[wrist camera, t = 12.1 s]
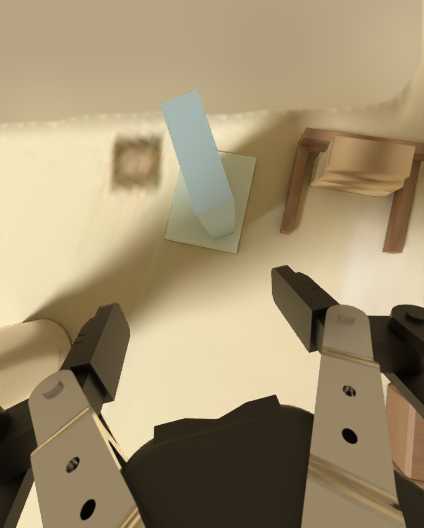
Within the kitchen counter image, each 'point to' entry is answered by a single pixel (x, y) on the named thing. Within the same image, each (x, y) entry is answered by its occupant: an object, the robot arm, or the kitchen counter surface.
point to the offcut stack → (363, 166)
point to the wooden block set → (405, 436)
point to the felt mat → (186, 222)
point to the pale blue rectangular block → (200, 164)
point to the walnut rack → (403, 197)
